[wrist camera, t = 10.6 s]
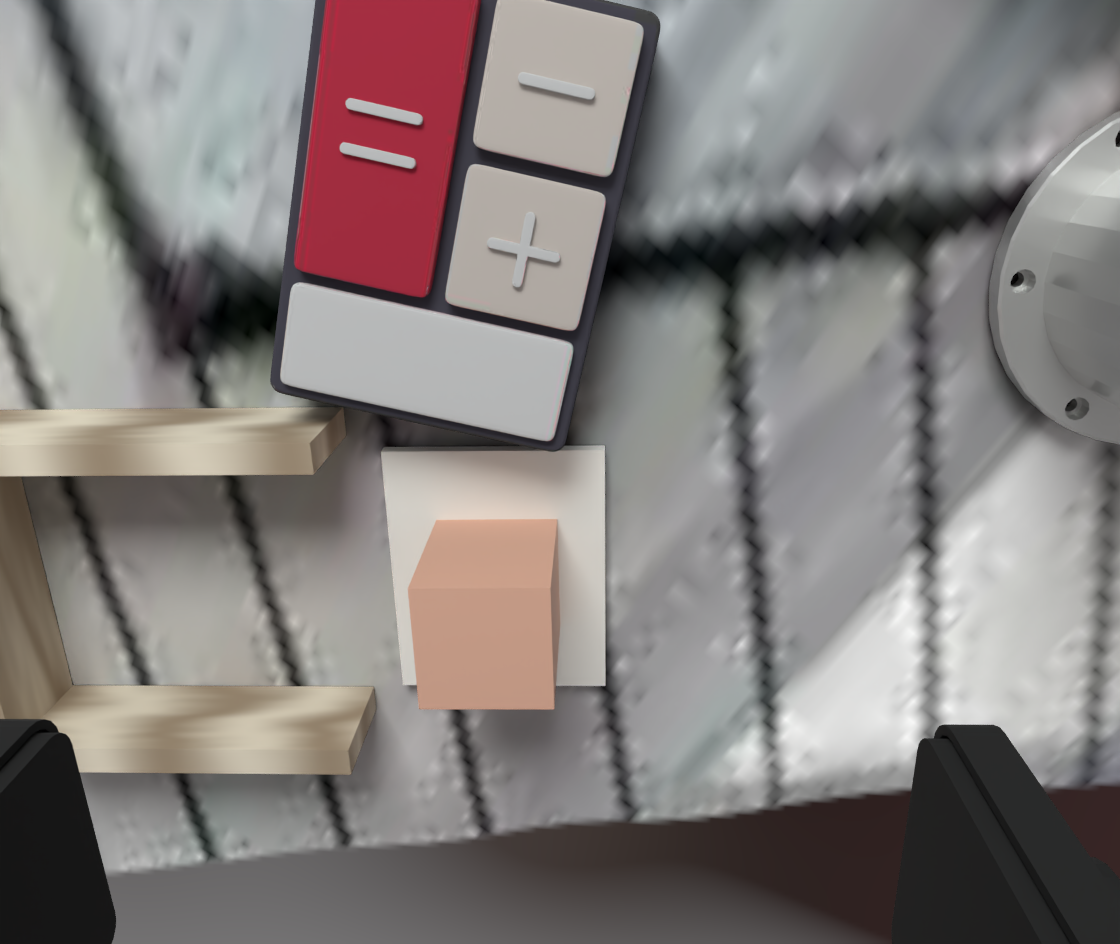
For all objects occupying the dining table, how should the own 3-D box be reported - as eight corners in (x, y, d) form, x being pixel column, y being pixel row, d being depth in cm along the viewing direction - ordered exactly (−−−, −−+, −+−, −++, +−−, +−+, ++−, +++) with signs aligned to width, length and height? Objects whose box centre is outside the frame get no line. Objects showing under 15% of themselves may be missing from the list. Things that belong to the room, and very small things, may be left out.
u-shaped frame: (343, 407, 36) (309, 442, 32) (376, 709, 41) (351, 774, 37) (-24, 410, 36) (-105, 446, 32) (53, 707, 41) (-9, 771, 37)
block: (557, 518, 37) (550, 588, 31) (560, 625, 38) (554, 709, 33) (436, 519, 37) (407, 588, 31) (444, 625, 38) (419, 709, 33)
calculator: (666, 8, 27) (562, 461, 32) (655, 31, 32) (564, 430, 36) (315, -76, 27) (259, 396, 32) (350, -41, 31) (296, 372, 36)
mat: (604, 445, 36) (604, 450, 35) (605, 678, 40) (605, 686, 39) (383, 446, 36) (380, 451, 36) (405, 677, 40) (402, 685, 40)
